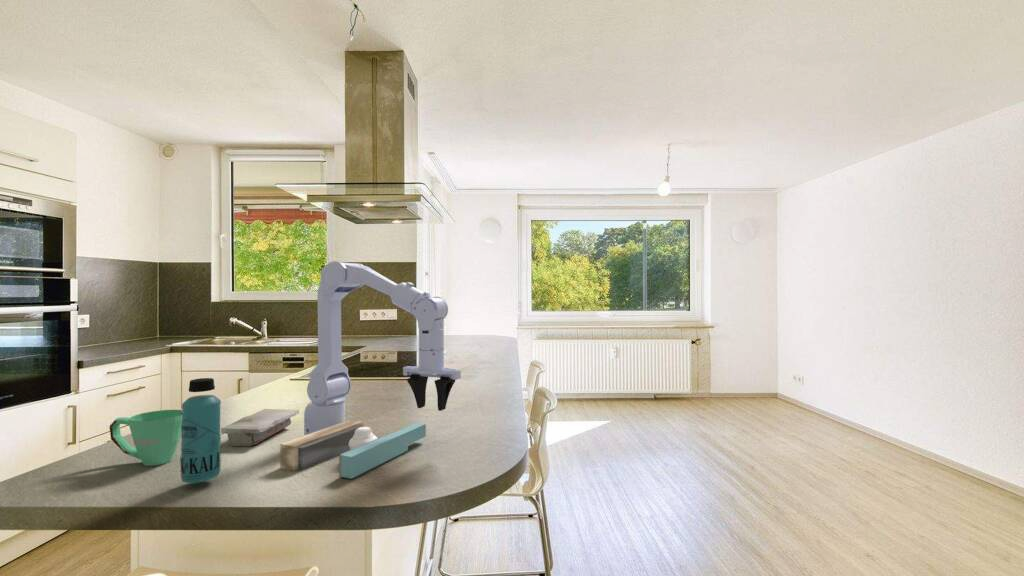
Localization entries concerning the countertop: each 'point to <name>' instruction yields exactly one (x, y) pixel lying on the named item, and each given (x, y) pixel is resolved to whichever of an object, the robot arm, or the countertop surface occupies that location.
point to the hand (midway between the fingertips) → (431, 408)
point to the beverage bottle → (200, 434)
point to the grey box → (258, 426)
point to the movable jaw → (379, 450)
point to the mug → (150, 435)
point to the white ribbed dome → (361, 437)
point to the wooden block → (317, 446)
